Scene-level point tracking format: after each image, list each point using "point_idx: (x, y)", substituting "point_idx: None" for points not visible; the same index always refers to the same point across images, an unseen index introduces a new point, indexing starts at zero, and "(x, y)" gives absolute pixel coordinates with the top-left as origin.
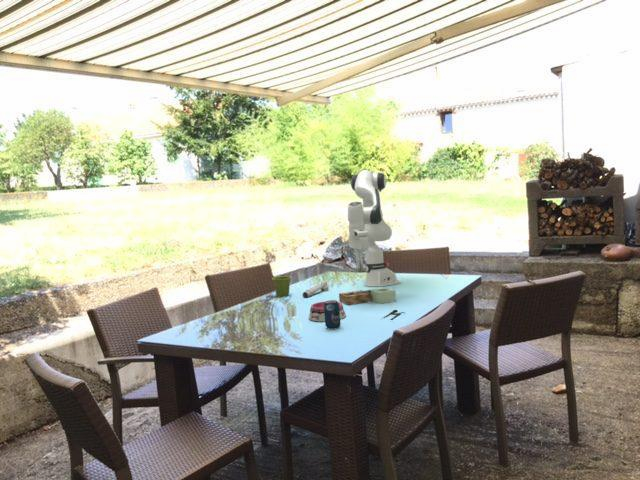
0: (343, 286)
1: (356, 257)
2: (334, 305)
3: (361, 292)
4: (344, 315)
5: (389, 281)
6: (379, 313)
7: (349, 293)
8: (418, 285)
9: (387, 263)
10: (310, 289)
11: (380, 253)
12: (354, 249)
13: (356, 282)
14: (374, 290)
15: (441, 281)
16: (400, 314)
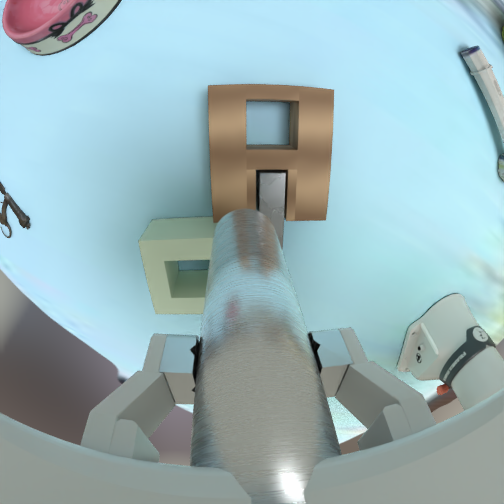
0: (498, 239)
1: (237, 306)
2: None
3: (259, 191)
4: (28, 49)
5: (414, 353)
6: (23, 169)
7: (298, 134)
8: None
9: (442, 392)
10: (493, 83)
11: (465, 407)
12: (407, 416)
13: (495, 286)
14: (205, 247)
15: None
16: (1, 221)
